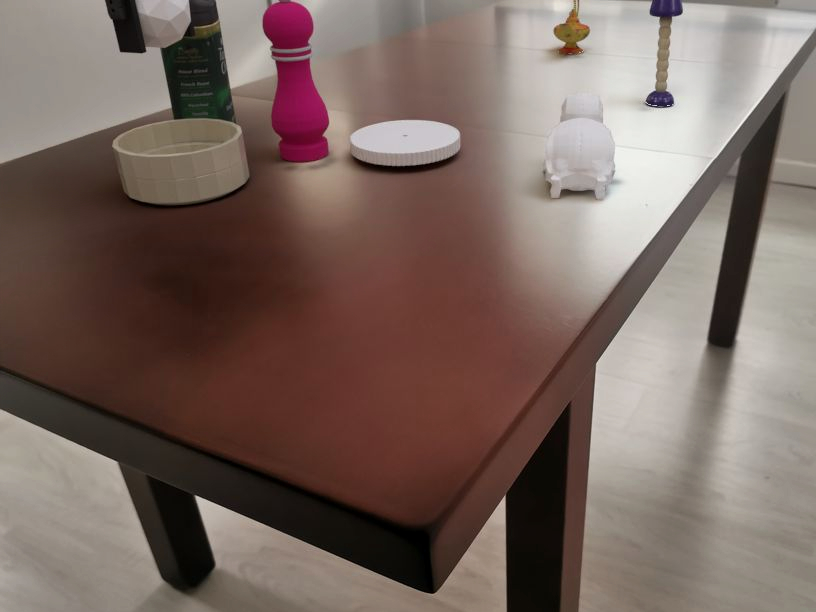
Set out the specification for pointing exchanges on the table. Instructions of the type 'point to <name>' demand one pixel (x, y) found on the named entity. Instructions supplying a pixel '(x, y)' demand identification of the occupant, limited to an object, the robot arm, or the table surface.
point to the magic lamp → (571, 32)
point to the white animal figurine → (580, 148)
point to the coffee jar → (199, 69)
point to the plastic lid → (405, 142)
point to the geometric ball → (163, 21)
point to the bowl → (181, 161)
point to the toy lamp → (663, 49)
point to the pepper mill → (295, 84)
